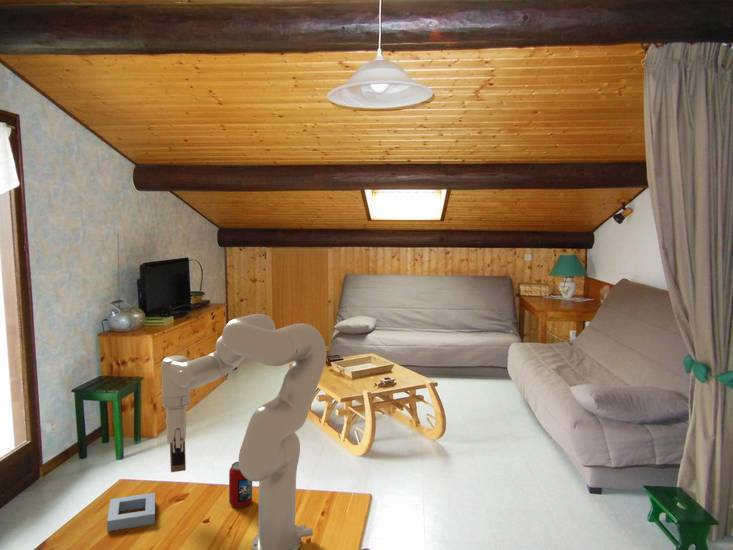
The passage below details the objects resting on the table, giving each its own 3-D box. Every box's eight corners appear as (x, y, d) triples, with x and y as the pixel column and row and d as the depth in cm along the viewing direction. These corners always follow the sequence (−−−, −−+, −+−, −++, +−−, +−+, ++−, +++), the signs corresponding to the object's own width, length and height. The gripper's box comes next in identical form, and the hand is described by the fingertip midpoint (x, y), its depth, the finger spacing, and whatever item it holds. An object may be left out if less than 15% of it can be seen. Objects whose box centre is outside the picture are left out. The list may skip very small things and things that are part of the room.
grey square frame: (155, 502, 163) (155, 492, 163) (154, 523, 152) (154, 513, 152) (110, 508, 159) (110, 498, 158) (107, 531, 148) (107, 521, 147)
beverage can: (246, 510, 160) (246, 471, 159) (225, 507, 161) (225, 468, 160) (255, 498, 167) (256, 461, 165) (235, 495, 168) (235, 458, 167)
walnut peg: (185, 464, 160) (184, 428, 159) (185, 470, 157) (184, 433, 156) (170, 466, 159) (169, 430, 158) (170, 472, 155) (169, 435, 154)
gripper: (162, 392, 162) (163, 451, 164) (162, 411, 147) (164, 476, 149) (188, 389, 165) (190, 448, 167) (191, 407, 149) (193, 472, 151)
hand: (178, 460), depth 158 cm, fingers closed on walnut peg, 4 cm apart
